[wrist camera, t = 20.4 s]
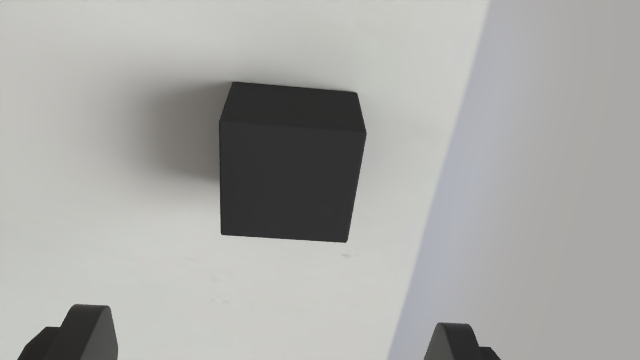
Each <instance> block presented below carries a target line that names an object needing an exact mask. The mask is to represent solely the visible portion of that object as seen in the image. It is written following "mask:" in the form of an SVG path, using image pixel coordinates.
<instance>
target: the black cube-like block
mask: <svg viewBox="0 0 640 360" xmlns="http://www.w3.org/2000/svg"><path fill="white" fill-rule="evenodd" d="M365 140H366V129H365V125H364V121H363V116H362V112H361V107H360V103H359V99H358V95H357V93H355V92H343V91H332V90H321V89H309V88H298V87H287V86H275V85H264V84H253V83H241V82H233V83H232V85H231V88H230V91H229V94H228V97H227V100H226V103H225V106H224V109H223V112H222V115H221V118H220V121H219V151H220V215H221V234H222V235H231V236H247V237H263V238H279V239H295V240H311V241H327V242H343V243H346V242H347V240H348V235H349V229H350V224H351V218H352V212H353V207H354V201H355V196H356V190H357V184H358V179H359V173H360V168H361V162H362V157H363V151H364V145H365Z"/></svg>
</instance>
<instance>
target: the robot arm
mask: <svg viewBox="0 0 640 360" xmlns="http://www.w3.org/2000/svg"><path fill="white" fill-rule="evenodd" d="M117 357H118V344H117V339H116V334H115V329H114V324H113V319H112V314H111V309H110V307H109V306H104V305H83V304H75V305H73V306H72V307H71V308H70V310H69V312H68V313H67V315H66V317H65V319H64V321H63V323H62V325H61V327H45V328H44V329H43V330H42V331H41V332H40V333H39V334H38V335H37V336H36V337H34V338H33V339H32V340H31V341H30V342H29V343H28V344H27V345H26V346H25V347H24V349H23V351H22V353H21V354H20V356H19V358H18V359H17V360H117ZM424 360H501V359H500V358H499V357H498V356H497V355H496V353H495V352H494V351H493V350H492V349H491V347H479V345H478V343H477V340H476V337H475V334H474V332H473V329H472V328H471V326H470V325H469V324H459V323H438V324H437V325H436V327H435V330H434V333H433V335H432V338H431V341H430V344H429V346H428V349H427V352H426V355H425V357H424Z"/></svg>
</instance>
